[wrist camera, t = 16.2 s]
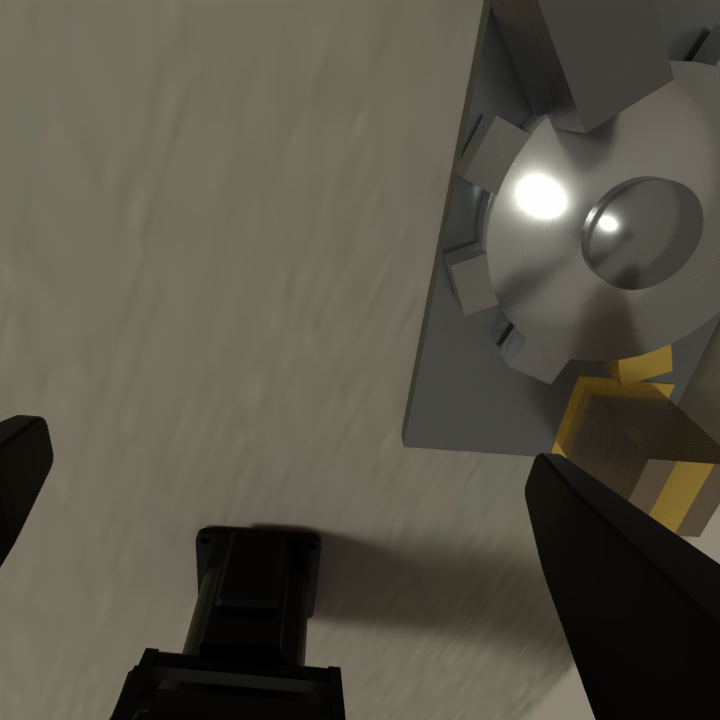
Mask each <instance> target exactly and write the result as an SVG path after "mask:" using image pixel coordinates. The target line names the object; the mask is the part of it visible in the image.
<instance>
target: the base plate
mask: <svg viewBox="0 0 720 720" xmlns="http://www.w3.org/2000/svg"><path fill="white" fill-rule="evenodd" d="M653 1H654V5H655V8H656V12H657V16H658V20H659V23H660V27H661V31H662V35H663V38H664V42H665V46H666V50H667V53H668V57H669V61H689V62H691V61H692V59H693V58H694V56H695V55H696V53H697V52H698V50H699V49H700V47H701V46H702V44H703V43H704V41H705V39H706V38H707V36H708V35H709V33H710V32H711V30H712V29H713V27H714V26H715V25H718V24H720V0H653ZM484 114H489V115H497V116H498V117H500V118H502V119H504V120H505V121H507V122H509V123H511V124H513V125H514V126H516V127H518V128H520V129H521V127H522V126H523V125H524V124H525V123H526V122H527V121H528V120H529V118H530V117H532V116H533V115H534V112H533V109H532V107H531V104H530V102H529V99H528V97H527V94H526V92H525V89H524V87H523V84H522V82H521V79H520V77H519V74H518V72H517V69H516V67H515V64H514V62H513V59H512V57H511V54H510V52H509V49H508V47H507V44H506V42H505V39H504V37H503V34H502V32H501V29H500V27H499V24H498V22H497V19H496V17H495V14H494V12H493V9H492V7H491V4H490V2H489V0H484V5H483V10H482V15H481V20H480V25H479V31H478V36H477V41H476V46H475V52H474V57H473V62H472V67H471V73H470V78H469V83H468V88H467V93H466V99H465V104H464V109H463V114H462V120H461V125H460V130H459V135H458V140H457V146H456V151H455V156H454V161H453V167H452V172H451V177H450V182H449V187H448V193H447V198H446V203H445V208H444V214H443V219H442V224H441V229H440V235H439V240H438V245H437V250H436V255H435V261H434V266H433V271H432V276H431V282H430V287H429V292H428V297H427V302H426V308H425V313H424V318H423V323H422V329H421V334H420V339H419V344H418V349H417V355H416V360H415V365H414V370H413V376H412V381H411V386H410V391H409V396H408V402H407V407H406V412H405V417H404V423H403V428H402V433H401V435H402V440H403V445H404V447H414V448H428V449H442V450H456V451H470V452H483V453H497V454H511V455H525V456H537V455H538V454H540V453H554V454H560V455H562V456H564V457H565V458H567V457H566V456H565V454H564V452H563V451H562V447H563V444H564V441H565V439H566V436H567V434H568V431H569V428H570V426H571V423H572V421H573V418H574V415H575V413H576V410H577V407H578V405H579V402H580V400H581V397H582V394H583V392H584V389H585V387H586V385H588V386H600V387H611V388H622V389H634V390H645V391H657V392H662V393H663V394H664V395H665V396H666V397H667V398H669V399H670V400H671V401H672V402H673V403H674V404H675V405H676V406H678V403H679V401H680V399H681V397H682V395H683V393H684V391H685V389H686V387H687V385H688V383H689V381H690V379H691V377H692V375H693V373H694V371H695V369H696V367H697V365H698V363H699V361H700V359H701V357H702V355H703V352H704V350H705V348H706V346H707V344H708V342H709V340H710V338H711V336H712V334H713V332H714V330H715V328H716V326H717V324H718V322H719V320H720V312H718V313H717V314H716V315H715V316H713V317H712V318H711V319H710V320H709V321H707V322H706V323H705V324H703V325H702V326H700V327H699V328H697V329H696V330H695V331H693V332H692V333H690V334H688V335H687V336H685V337H683V338H681V339H679V340H678V341H676V342H674V343H672V344H671V353H672V368H673V371H671V372H667V373H664V374H661V375H657V376H654V377H651V378H648V379H644V380H641V381H638V382H634V383H631V384H628V385H624V386H621V385H620V384H619V383H618V382H617V381H616V380H615V379H614V378H613V377H612V376H611V375H610V374H609V373H608V372H607V371H606V370H605V365H604V361H583V360H576V359H571V358H570V360H569V361H568V362H567V364H566V365H565V366H564V368H563V369H562V370H561V372H560V373H559V374H558V376H557V377H556V378H555V380H554V381H553V382H552V384H548V383H546V382H544V381H541V380H539V379H537V378H534V377H532V376H530V375H527V374H525V373H523V372H521V371H518V370H516V369H514V368H511V367H509V366H508V364H507V363H506V361H505V360H504V358H503V356H502V355H501V353H500V352H499V349H500V347H501V346H502V344H503V343H504V341H505V340H506V338H507V337H508V335H509V334H510V332H511V331H512V329H513V328H514V325H513V324H512V323H511V322H510V320H509V319H508V318H507V317H506V315H505V314H504V313H503V311H502V310H501V309H500V307H499V306H498V305H495V306H492V307H489V308H486V309H483V310H480V311H477V312H474V313H471V314H468V315H465V316H464V314H463V312H462V311H461V309H460V307H459V305H458V304H457V302H456V298H455V295H454V291H453V288H452V284H451V281H450V277H449V273H448V270H447V266H446V263H445V259H444V256H443V255H444V254H446V253H449V252H452V251H455V250H458V249H461V248H463V247H466V246H469V245H472V244H475V243H477V225H478V218H479V211H480V206H481V203H482V199H483V195H484V192H485V190H484V189H483V188H481V187H479V186H477V185H475V184H473V183H471V182H469V181H467V180H465V179H463V178H462V177H460V176H459V175H457V174H456V173H454V171H455V169H456V167H457V166H458V164H459V162H460V160H461V158H462V156H463V154H464V152H465V150H466V148H467V147H468V145H469V143H470V141H471V139H472V137H473V135H474V133H475V131H476V129H477V128H478V126H479V124H480V122H481V120H482V118H483V116H484Z"/></svg>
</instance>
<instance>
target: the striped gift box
mask: <svg viewBox="0 0 720 720" xmlns="http://www.w3.org/2000/svg"><path fill="white" fill-rule="evenodd" d="M562 451H563V452H564V454H565V456H566V457H567V459H568V460H570V461H571V462H573V463H574V464H575V465H577V466H578V467H580V468H581V469H583V470H584V471H586V472H587V473H588V474H590V475H591V476H593V477H594V478H596V479H597V480H599V481H600V482H601V483H603V484H604V485H606V486H607V487H609V488H610V489H612V490H613V491H614V492H616V493H617V494H619V495H620V496H622V497H623V498H625V499H626V500H627V501H629V502H630V503H632V504H633V505H635V506H636V507H638V508H639V509H640V510H642V511H643V512H645V513H646V514H648V515H649V516H651V517H652V518H653V519H655V520H656V521H658V522H659V523H661V524H662V525H664V526H665V527H666V528H668V529H669V530H671V531H672V532H674V533H675V534H677V535H678V536H693V537H700V535H701V533H702V532H703V530H704V528H705V527H706V525H707V523H708V522H709V520H710V518H711V517H712V515H713V513H714V512H715V510H716V508H717V507H718V505H719V503H720V445H719V444H718V443H716V442H715V441H714V440H713V439H712V438H711V437H710V436H709V435H708V434H707V433H706V432H704V431H703V430H702V429H701V428H700V427H699V426H698V425H697V424H696V423H695V422H694V421H692V420H691V419H690V418H689V417H688V416H687V415H686V414H685V413H684V412H683V411H682V410H681V409H679V408H678V407H677V406H676V405H675V404H674V403H673V402H672V401H671V400H670V399H669V398H667V397H666V396H665V395H664V394H663V393H662V392H657V391H645V390H634V389H622V388H611V387H600V386H588V385H586V387H585V389H584V392H583V394H582V397H581V400H580V402H579V405H578V407H577V410H576V413H575V415H574V418H573V421H572V423H571V426H570V428H569V431H568V434H567V436H566V439H565V441H564V444H563V447H562Z"/></svg>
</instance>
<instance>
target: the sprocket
mask: <svg viewBox="0 0 720 720" xmlns="http://www.w3.org/2000/svg"><path fill="white" fill-rule="evenodd" d="M489 2H490V4H491V7H492V9H493V12H494V14H495V17H496V19H497V22H498V24H499V27H500V29H501V32H502V34H503V37H504V39H505V42H506V44H507V47H508V49H509V52H510V54H511V57H512V59H513V62H514V64H515V67H516V69H517V72H518V74H519V77H520V79H521V82H522V84H523V87H524V89H525V92H526V94H527V97H528V99H529V102H530V104H531V107H532V109H533V112H534V115H533V116H532V117H530V118H529V120H528V121H527V122H526V123H525V124H524V125H523V126H522V127H521V129H520V128H518V127H516V126H514V125H513V124H511V123H509V122H507V121H505V120H504V119H502V118H500V117H498V116H497V115H489V114H484V116H483V118H482V120H481V122H480V124H479V126H478V128H477V129H476V131H475V133H474V135H473V137H472V139H471V141H470V143H469V145H468V147H467V148H466V150H465V152H464V154H463V156H462V158H461V160H460V162H459V164H458V166H457V167H456V169H455V171H454V173H456V174H457V175H459V176H460V177H462V178H463V179H465V180H467V181H469V182H471V183H473V184H475V185H477V186H479V187H481V188H483V189H484V190H485V192H484V195H483V199H482V203H481V206H480V211H479V218H478V225H477V243H475V244H472V245H469V246H466V247H463V248H461V249H458V250H455V251H452V252H449V253H446V254H444V255H443V256H444V259H445V263H446V266H447V270H448V273H449V277H450V281H451V284H452V288H453V291H454V295H455V298H456V302H457V304H458V305H459V307H460V309H461V311H462V312H463V314H464V316H465V315H468V314H471V313H474V312H477V311H480V310H483V309H486V308H489V307H492V306H495V305H498V306H499V307H500V309H501V310H502V311H503V313H504V314H505V315H506V317H507V318H508V319H509V320H510V322H511V323H512V324H513V325H514V328H513V329H512V331H511V332H510V334H509V335H508V337H507V338H506V340H505V341H504V343H503V344H502V346H501V347H500V349H499V352H500V353H501V355H502V356H503V358H504V360H505V361H506V363H507V364H508V366H509V367H511V368H514V369H516V370H518V371H521V372H523V373H525V374H527V375H530V376H532V377H534V378H537V379H539V380H541V381H544V382H546V383H548V384H552V382H553V381H554V380H555V378H556V377H557V376H558V374H559V373H560V372H561V370H562V369H563V368H564V366H565V365H566V364H567V362H568V361H569V360H570V358H571V359H576V360H583V361H604V365H605V370H606V371H607V372H608V373H609V374H610V375H611V376H612V377H613V378H614V379H615V380H616V381H617V382H618V383H619V384H620V385H621V386H624V385H628V384H631V383H634V382H638V381H641V380H644V379H648V378H651V377H654V376H657V375H661V374H664V373H667V372H671V371H673V368H672V353H671V344H672V343H674V342H676V341H678V340H679V339H681V338H683V337H685V336H687V335H688V334H690V333H692V332H693V331H695V330H696V329H697V328H699V327H700V326H702V325H703V324H705V323H706V322H707V321H709V320H710V319H711V318H712V317H713V316H715V315H716V314H717V313H718V312H720V24H718V25H715V26H714V27H713V29H712V30H711V32H710V33H709V35H708V36H707V38H706V39H705V41H704V43H703V44H702V46H701V47H700V49H699V50H698V52H697V53H696V55H695V56H694V58H693V59H692V61H691V62H689V61H669V57H668V53H667V50H666V46H665V42H664V38H663V35H662V31H661V27H660V23H659V20H658V16H657V12H656V8H655V5H654V1H653V0H489Z"/></svg>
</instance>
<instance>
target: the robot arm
mask: <svg viewBox="0 0 720 720" xmlns="http://www.w3.org/2000/svg"><path fill="white" fill-rule="evenodd" d="M52 463H53V449H52V445H51V440H50V435H49V430H48V426H47V422H46V421H45V419H44V418H42V417H40V416H28V415H16V416H14V417H11V418H9V419H6V420H4V421H2V422H0V567H1V565H2V564H3V562H4V560H5V559H6V557H7V555H8V554H9V552H10V550H11V549H12V547H13V545H14V544H15V542H16V540H17V538H18V536H19V534H20V532H21V530H22V528H23V526H24V524H25V522H26V519H27V517H28V515H29V513H30V511H31V509H32V507H33V505H34V503H35V501H36V498H37V496H38V494H39V492H40V490H41V488H42V486H43V484H44V482H45V480H46V477H47V475H48V473H49V471H50V469H51V467H52ZM525 499H526V503H527V507H528V511H529V516H530V520H531V524H532V528H533V533H534V537H535V541H536V545H537V549H538V554H539V558H540V562H541V565H542V569H543V572H544V576H545V579H546V582H547V585H548V587H549V590H550V593H551V596H552V599H553V601H554V604H555V607H556V610H557V613H558V616H559V618H560V621H561V624H562V627H563V630H564V632H565V635H566V638H567V641H568V644H569V647H570V649H571V652H572V655H573V658H574V661H575V663H576V666H577V669H578V672H579V675H580V677H581V680H582V683H583V686H584V689H585V692H586V694H587V697H588V700H589V703H590V706H591V709H592V711H593V714H594V717H595V719H596V720H720V564H719V563H717V562H716V561H714V560H713V559H711V558H710V557H708V556H707V555H706V554H704V553H702V552H701V551H700V550H698V549H697V548H695V547H694V546H692V545H691V544H690V543H688V542H687V541H685V540H684V539H682V538H681V537H680V536H678V535H677V534H675V533H674V532H672V531H671V530H669V529H668V528H666V527H665V526H664V525H662V524H661V523H659V522H658V521H656V520H655V519H653V518H652V517H651V516H649V515H648V514H646V513H645V512H643V511H642V510H640V509H639V508H638V507H636V506H635V505H633V504H632V503H630V502H629V501H627V500H626V499H625V498H623V497H622V496H620V495H619V494H617V493H616V492H614V491H613V490H612V489H610V488H609V487H607V486H606V485H604V484H603V483H601V482H600V481H599V480H597V479H596V478H594V477H593V476H591V475H590V474H588V473H587V472H586V471H584V470H583V469H581V468H580V467H578V466H577V465H575V464H574V463H573V462H571V461H570V460H568V459H567V458H565V457H564V456H562V455H560V454H554V453H540V454H538V455H537V456H536V458H535V460H534V463H533V465H532V468H531V471H530V474H529V477H528V480H527V482H526V486H525ZM205 537H206V538H205ZM309 543H314V544H309ZM320 551H321V538H320V537H319V536H318V535H316V534H305V533H288V532H270V531H252V530H234V529H216V528H203V529H201V530H199V532H198V534H197V537H196V556H197V577H198V599H197V603H196V606H195V610H194V613H193V617H192V620H191V624H190V628H189V631H188V635H187V638H186V642H185V645H184V649H183V652H182V654H180V653H170V652H160V651H159V649H154V648H146V649H145V651H144V654H143V656H142V658H141V660H140V663H139V665H138V666H137V665H135V666H134V668H133V670H132V671H129V672H128V675H127V678H126V680H125V683H124V686H123V688H122V691H121V694H120V697H119V699H118V702H117V704H116V707H115V709H114V711H113V714H112V715H111V717H110V719H109V720H346V719H345V709H344V699H343V689H342V679H341V669H340V667H332V666H329V667H328V668H320V667H310V666H305V652H306V635H307V619H308V618H311V617H312V616H313V612H314V603H315V595H316V586H317V577H318V568H319V560H320Z"/></svg>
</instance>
